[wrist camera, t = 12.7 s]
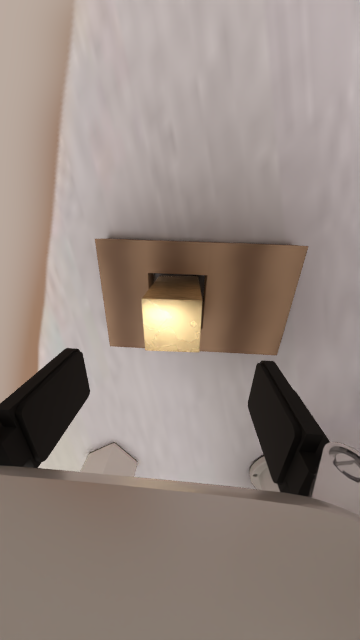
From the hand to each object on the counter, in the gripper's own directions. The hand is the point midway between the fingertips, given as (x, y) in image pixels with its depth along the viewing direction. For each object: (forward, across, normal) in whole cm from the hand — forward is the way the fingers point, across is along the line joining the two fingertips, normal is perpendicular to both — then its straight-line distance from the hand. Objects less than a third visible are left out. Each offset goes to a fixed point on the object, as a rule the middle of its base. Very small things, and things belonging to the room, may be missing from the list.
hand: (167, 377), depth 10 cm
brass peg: (+14, 0, -1) cm, 14 cm away
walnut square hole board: (+14, -2, -1) cm, 14 cm away
